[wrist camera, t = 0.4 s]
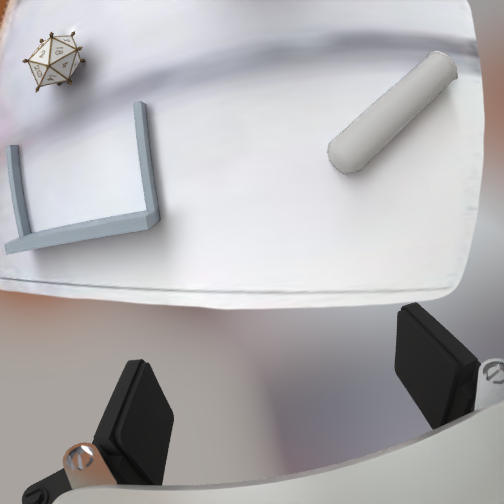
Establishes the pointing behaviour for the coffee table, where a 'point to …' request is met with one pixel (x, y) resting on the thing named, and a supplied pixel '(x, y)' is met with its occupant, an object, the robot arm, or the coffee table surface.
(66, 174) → the coffee table surface
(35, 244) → the tray
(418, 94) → the tube
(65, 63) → the game die
